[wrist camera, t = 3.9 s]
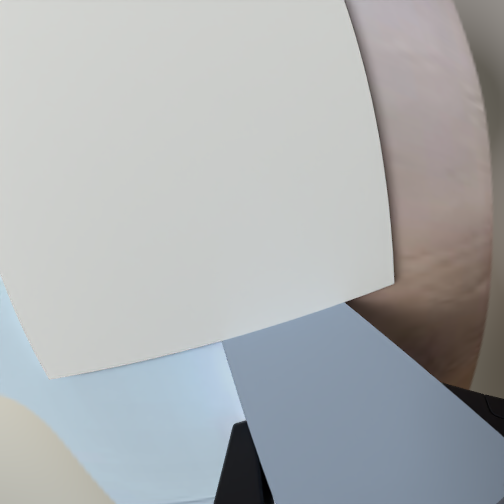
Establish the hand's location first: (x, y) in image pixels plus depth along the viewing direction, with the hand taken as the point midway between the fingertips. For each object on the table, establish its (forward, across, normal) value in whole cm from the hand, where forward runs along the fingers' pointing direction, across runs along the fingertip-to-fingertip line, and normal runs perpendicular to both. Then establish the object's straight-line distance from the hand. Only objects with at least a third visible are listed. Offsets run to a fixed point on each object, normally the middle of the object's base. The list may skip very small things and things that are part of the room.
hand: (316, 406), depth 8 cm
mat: (+2, +2, -10) cm, 10 cm away
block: (+2, 0, 0) cm, 2 cm away
